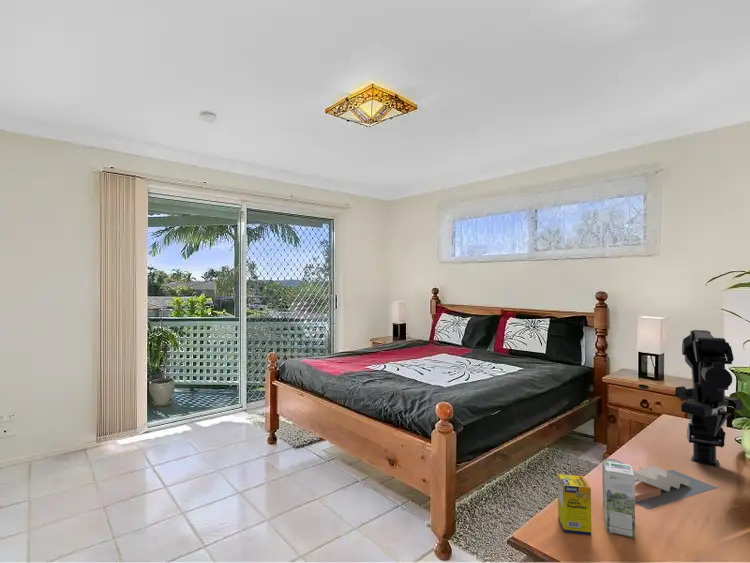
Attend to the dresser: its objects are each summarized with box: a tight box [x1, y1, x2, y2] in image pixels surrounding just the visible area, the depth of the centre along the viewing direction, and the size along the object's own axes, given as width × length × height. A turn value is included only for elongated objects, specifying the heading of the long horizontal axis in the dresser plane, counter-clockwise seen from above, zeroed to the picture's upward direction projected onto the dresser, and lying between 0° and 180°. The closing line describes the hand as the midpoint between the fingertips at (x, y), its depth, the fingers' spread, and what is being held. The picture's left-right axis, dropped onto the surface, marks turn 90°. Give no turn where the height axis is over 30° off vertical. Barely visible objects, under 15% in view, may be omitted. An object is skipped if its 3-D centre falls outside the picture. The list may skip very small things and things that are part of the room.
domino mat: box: [635, 469, 718, 510], centre depth 113 cm, size 28×12×1 cm, turn 112°
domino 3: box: [647, 464, 690, 486], centre depth 114 cm, size 2×5×10 cm
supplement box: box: [557, 473, 592, 536], centre depth 96 cm, size 6×6×11 cm
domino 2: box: [637, 466, 680, 489], centre depth 113 cm, size 2×5×10 cm
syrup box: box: [603, 461, 636, 539], centre depth 95 cm, size 6×6×14 cm
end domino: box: [635, 481, 661, 502], centre depth 110 cm, size 2×5×10 cm
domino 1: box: [633, 470, 671, 492], centre depth 111 cm, size 2×5×10 cm
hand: (712, 435), depth 118 cm, fingers closed
